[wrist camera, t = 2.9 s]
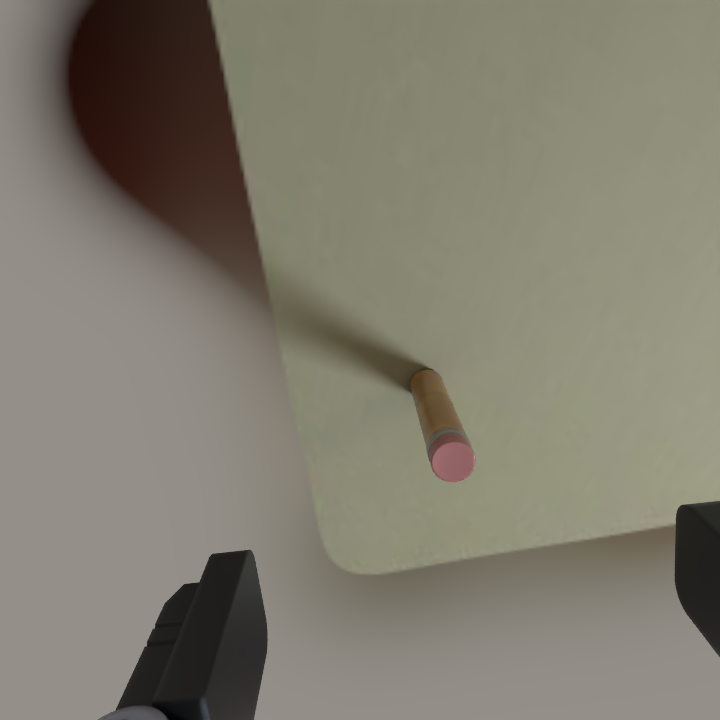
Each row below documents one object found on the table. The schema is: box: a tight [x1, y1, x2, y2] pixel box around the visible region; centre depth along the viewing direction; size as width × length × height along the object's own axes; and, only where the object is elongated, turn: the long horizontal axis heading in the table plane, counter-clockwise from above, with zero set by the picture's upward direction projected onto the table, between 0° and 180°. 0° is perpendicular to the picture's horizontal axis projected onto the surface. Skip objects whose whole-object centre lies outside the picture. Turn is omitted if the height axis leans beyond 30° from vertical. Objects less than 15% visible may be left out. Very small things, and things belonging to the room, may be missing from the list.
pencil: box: [411, 369, 476, 482], centre depth 26 cm, size 2×2×9 cm
